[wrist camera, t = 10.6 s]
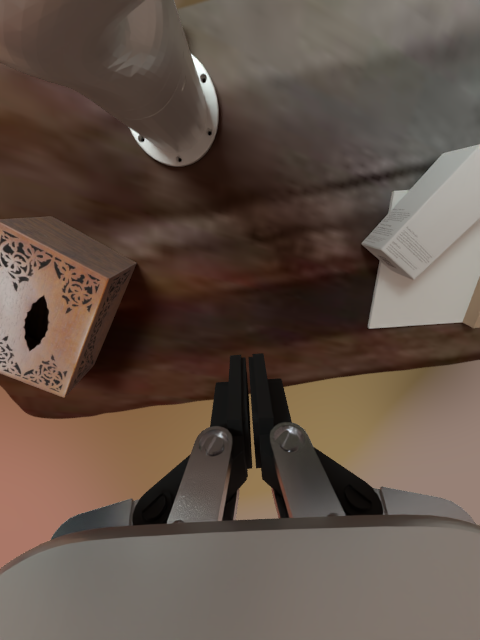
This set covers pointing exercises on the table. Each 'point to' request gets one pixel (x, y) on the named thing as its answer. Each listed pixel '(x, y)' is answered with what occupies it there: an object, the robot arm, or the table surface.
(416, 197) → the skincare box
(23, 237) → the tissue box cover
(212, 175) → the table surface
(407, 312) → the white flat piece
